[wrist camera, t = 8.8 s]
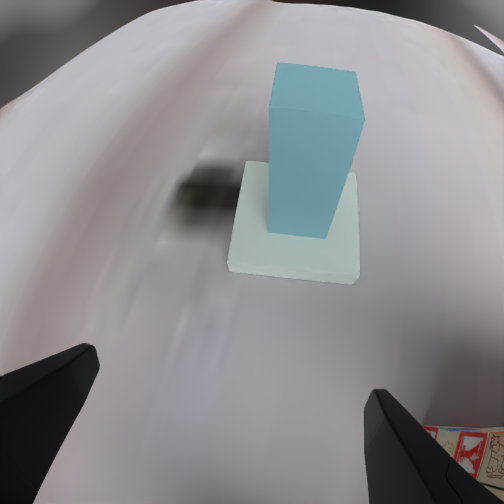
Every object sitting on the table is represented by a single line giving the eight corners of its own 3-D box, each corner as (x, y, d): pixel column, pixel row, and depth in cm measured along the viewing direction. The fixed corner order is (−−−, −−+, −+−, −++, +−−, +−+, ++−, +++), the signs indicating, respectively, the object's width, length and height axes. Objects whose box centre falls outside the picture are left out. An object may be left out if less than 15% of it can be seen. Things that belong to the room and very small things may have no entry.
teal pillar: (325, 239, 23) (364, 119, 13) (267, 232, 24) (268, 106, 13) (326, 192, 25) (355, 72, 15) (274, 186, 26) (277, 62, 15)
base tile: (352, 284, 24) (359, 275, 22) (229, 271, 25) (226, 261, 23) (350, 185, 28) (355, 172, 26) (247, 174, 29) (246, 160, 27)
